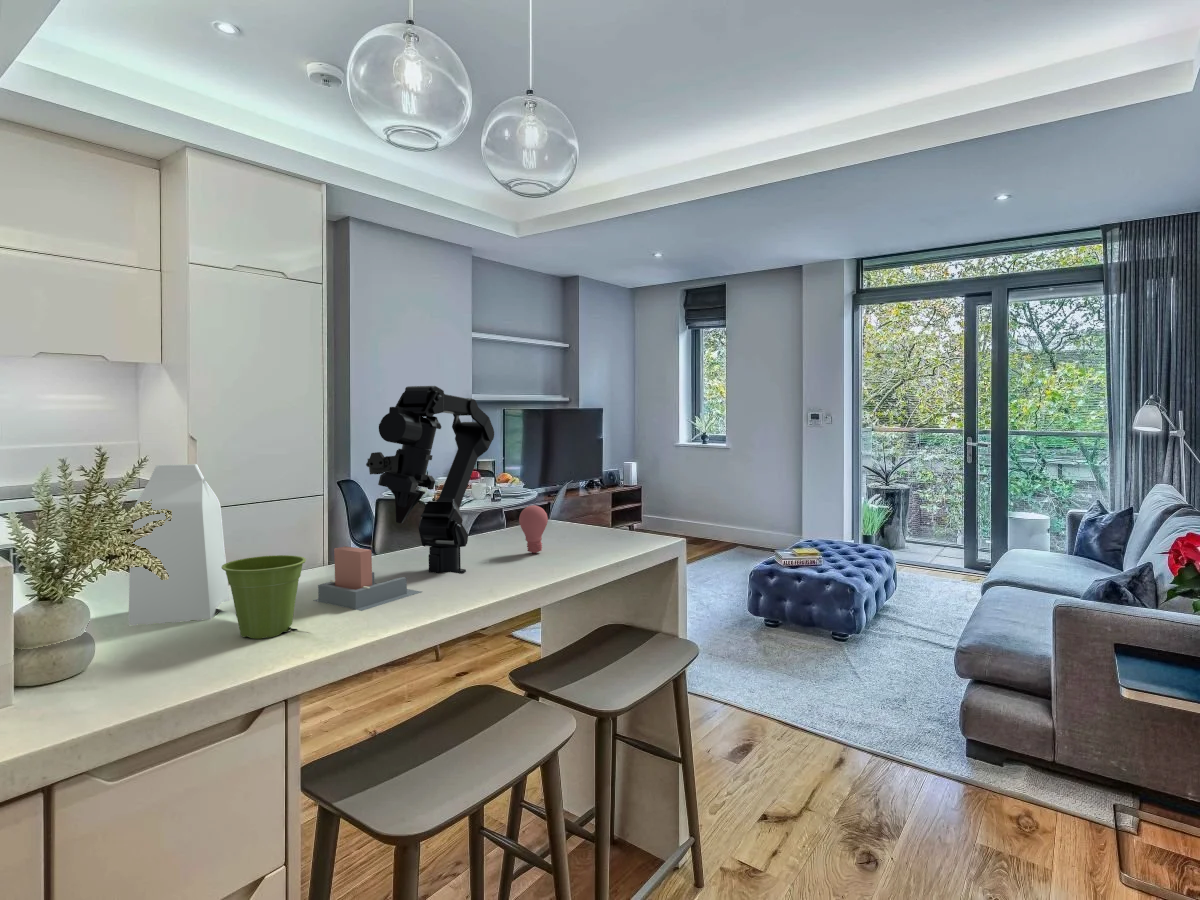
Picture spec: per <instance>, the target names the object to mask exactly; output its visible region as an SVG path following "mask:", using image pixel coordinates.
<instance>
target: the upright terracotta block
mask: <svg viewBox="0 0 1200 900" xmlns="http://www.w3.org/2000/svg"><path fill="white" fill-rule="evenodd" d="M333 549H334V550H333V553H334V581H335V586H338V587H343V588H348V589H354V590H357V589H361V588H363V586H367V587H368V586H372V572H373V567H372V566H373V563H372V561H373V560H372V559H373V558H372V549H367V548H360V547H353V546H348V545H347V546H346V545H343V546H340V547H335V548H333Z"/></svg>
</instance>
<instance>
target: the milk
mask: <svg viewBox="0 0 1200 900" xmlns="http://www.w3.org/2000/svg"><path fill="white" fill-rule="evenodd" d="M151 499H152V501H150V502H149V503H152V504H151V506H150V507H151V508H152V509H153V510H161V509H168V510H172V519H171V521H169V522H167V521H168V520H170V518H168V519H167V520H166V521H165V524H164V525H162V526H160V527H156V528H155V529H153V531H152V534H151V535H148V536H145V537H142V538H140V539H138V540H136V541H135V542H133V544H135V545H137V546H141V547H143V548H146V549H149V551H150V553H151V555H153V556H155V557H157V558H158V559H160V560H161V562H162V564H163V566H164V568H165V569H166V571H167V573H168V575H169V579H168V580H161V579H160V578H161V577H160V578H159V577H158V576H157V575H156V574H154V573H152V572H151V571H149V570H148V569H145V568H143V567H133V568H130V567H129V578H128V581H129V582H128V584H129V585H128V586H129V588H128V591H129V592H128V626H129V625H133V626H140V625H139V624H146V625H154V624H153V623H159V624H166V623H165V622H172V623H181V622H180V621H185V622H191V621H190V620H197V621H203V620H202V619H210V620H212V619H213V618H214V617H215V616H216V615H217V614H218V613H219V612H220V611H221V609H219V608H218V607H220V605H221V604H222V603H224V602H228V601H230V590H229V588H230V587H229V583H228V579H227V575H226V571H225V570H223V569H222V565H224V564H226V563H227V558H226V549H225V547H226V546H225V537H224V527H223V517H222V516H223V514H222V507H221V503H220V500H219V498H218V496H217V495H216V493H215V491H214V490H213V489H212V487H211V486H210V485H209V483H208V482H207V480H206V479H205V477H204V474H203V473H202V471H201V469H200V468H199V465H198V464H197V463H190V464H189V463H187V464H185V463H184V464H157V465H155V467H154V469H153V471H152V473H151V475H150V478H149V479H148V482H147V483H146V484H145V487H144V488H143V490H142V492H141V494H140V496H139V497H138V499H137V501H136V502H135V504H134V506H136V505H137V504H138V503H140V502H143V501H149V500H151ZM159 512H161V511H159ZM166 512H167V511H166ZM169 513H170V512H169ZM165 515H166V514H165V513H160V514H155V515H149V516H147V517H144V518H142V519H139V520H137V521H135V522H134V524H133V529H134V530H135V529H138V528H142V527H143V526H145V525H146V524H147V523H150V522H153V521H158V520H165V519H166V516H165ZM217 612H218V613H217ZM216 613H217V614H216ZM215 614H216V615H215ZM214 615H215V616H214ZM213 616H214V617H213ZM212 617H213V618H212ZM211 618H212V619H211ZM137 624H138V625H137Z"/></svg>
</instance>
